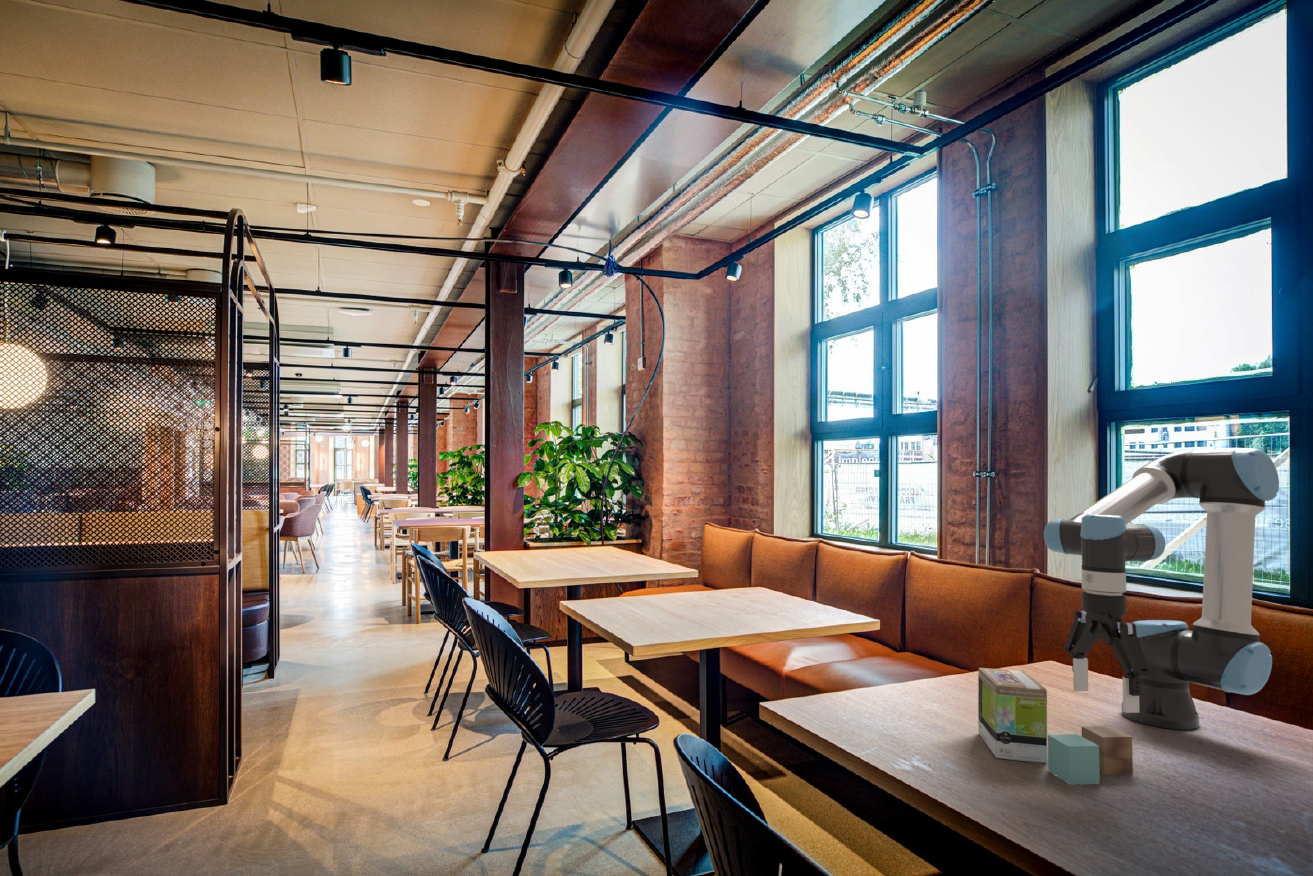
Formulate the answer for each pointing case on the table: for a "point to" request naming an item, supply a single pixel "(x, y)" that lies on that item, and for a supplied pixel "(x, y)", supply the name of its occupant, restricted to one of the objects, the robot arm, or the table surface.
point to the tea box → (1012, 714)
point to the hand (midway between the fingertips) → (1104, 701)
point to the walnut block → (1111, 749)
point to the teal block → (1073, 759)
